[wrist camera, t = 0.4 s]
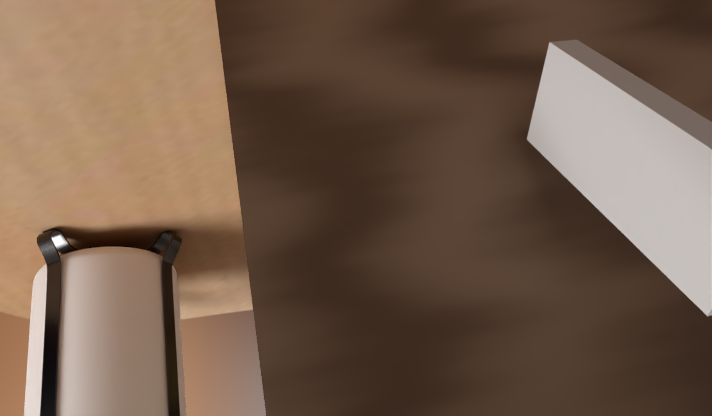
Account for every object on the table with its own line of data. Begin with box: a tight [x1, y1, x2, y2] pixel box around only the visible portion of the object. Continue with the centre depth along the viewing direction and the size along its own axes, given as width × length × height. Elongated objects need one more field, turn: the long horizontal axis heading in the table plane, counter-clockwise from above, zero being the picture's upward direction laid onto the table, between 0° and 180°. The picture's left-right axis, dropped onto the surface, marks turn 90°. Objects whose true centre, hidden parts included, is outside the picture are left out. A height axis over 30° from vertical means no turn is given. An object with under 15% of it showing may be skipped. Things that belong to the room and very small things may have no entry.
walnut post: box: [215, 0, 712, 416], centre depth 21 cm, size 18×16×35 cm
